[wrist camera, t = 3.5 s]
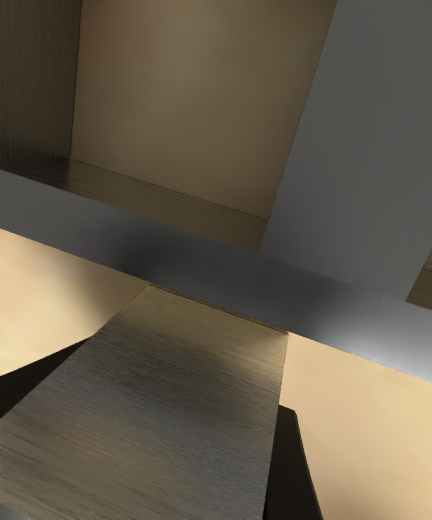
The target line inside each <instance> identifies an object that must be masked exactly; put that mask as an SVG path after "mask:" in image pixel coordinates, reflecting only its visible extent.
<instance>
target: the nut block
mask: <svg viewBox="0 0 432 520" xmlns="http://www.w3.org/2000/svg"><path fill="white" fill-rule="evenodd" d="M288 336H289V335H288V334H285V333H282V332H279V331H276V330H274V329H271V328H268V327H265V326H263V325H260V324H257V323H254V322H251V321H249V320H246V319H243V318H240V317H237V316H235V315H232V314H229V313H226V312H224V311H221V310H218V309H215V308H212V307H210V306H207V305H204V304H201V303H198V302H196V301H193V300H190V299H187V298H184V297H182V296H179V295H176V294H173V293H171V292H168V291H165V290H162V289H159V288H157V287H154V286H151V285H148V286H147V287H146V288H145V289H144V290H143V291H142V292H140V293H139V294H138V295H137V296H136V297H135V298H134V299H133V300H132V301H130V302H129V303H128V304H127V305H126V306H125V307H124V308H123V309H122V310H120V311H119V312H118V313H117V314H116V315H115V316H114V317H113V318H112V319H111V320H109V321H108V322H107V323H106V324H105V325H104V326H103V327H102V328H101V329H99V330H98V331H97V332H96V333H95V334H94V335H93V336H92V337H91V338H89V339H88V340H87V341H86V342H85V343H84V344H83V345H82V346H81V347H80V348H78V349H77V350H76V351H75V352H74V353H73V354H72V355H71V356H70V357H68V358H67V359H66V360H65V361H64V362H63V363H62V364H61V365H60V366H58V367H57V368H56V369H55V370H54V371H53V372H52V373H51V374H50V375H49V376H47V377H46V378H45V379H44V380H43V381H42V382H41V383H40V384H39V385H37V386H36V387H35V388H34V389H33V390H32V391H31V392H30V393H29V394H27V395H26V396H25V397H24V398H23V399H22V400H21V401H20V402H19V403H18V404H16V405H15V406H14V407H13V408H12V409H11V410H10V411H9V412H8V413H6V414H5V415H4V416H3V417H2V418H1V419H0V520H262V516H263V509H264V502H265V495H266V488H267V481H268V474H269V468H270V461H271V454H272V447H273V440H274V433H275V426H276V419H277V412H278V405H279V398H280V391H281V384H282V377H283V370H284V363H285V356H286V349H287V343H288Z"/></svg>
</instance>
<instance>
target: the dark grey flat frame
mask: <svg viewBox="0 0 432 520" xmlns="http://www.w3.org/2000/svg"><path fill="white" fill-rule="evenodd" d="M81 1H82V0H0V228H1V229H3V230H6V231H9V232H12V233H15V234H17V235H20V236H23V237H26V238H29V239H31V240H34V241H37V242H40V243H43V244H45V245H48V246H51V247H54V248H57V249H59V250H62V251H65V252H68V253H71V254H73V255H76V256H79V257H82V258H85V259H87V260H90V261H93V262H96V263H99V264H101V265H104V266H107V267H110V268H113V269H115V270H118V271H121V272H124V273H127V274H129V275H132V276H135V277H138V278H141V279H143V280H146V281H149V282H152V283H155V284H157V285H160V286H163V287H166V288H169V289H171V290H174V291H177V292H180V293H183V294H185V295H188V296H191V297H194V298H197V299H199V300H202V301H205V302H208V303H211V304H213V305H216V306H219V307H222V308H225V309H227V310H230V311H233V312H236V313H239V314H241V315H244V316H247V317H250V318H253V319H255V320H258V321H261V322H264V323H267V324H269V325H272V326H275V327H278V328H281V329H283V330H286V331H289V332H292V333H295V334H297V335H300V336H303V337H306V338H309V339H311V340H314V341H317V342H320V343H323V344H325V345H328V346H331V347H334V348H337V349H339V350H342V351H345V352H348V353H351V354H353V355H356V356H359V357H362V358H365V359H367V360H370V361H373V362H376V363H379V364H381V365H384V366H387V367H390V368H393V369H395V370H398V371H401V372H404V373H407V374H409V375H412V376H415V377H418V378H421V379H423V380H426V381H429V382H432V271H429V270H426V269H423V268H422V267H423V265H424V264H425V262H426V260H427V258H428V256H429V254H430V252H431V250H432V0H337V4H336V7H335V10H334V13H333V16H332V20H331V23H330V26H329V29H328V32H327V36H326V39H325V42H324V45H323V48H322V52H321V55H320V58H319V61H318V64H317V68H316V71H315V74H314V77H313V80H312V83H311V87H310V90H309V93H308V96H307V99H306V103H305V106H304V109H303V112H302V115H301V119H300V122H299V125H298V128H297V131H296V135H295V138H294V141H293V144H292V147H291V151H290V154H289V157H288V160H287V163H286V166H285V170H284V173H283V176H282V179H281V182H280V186H279V189H278V192H277V195H276V198H275V202H274V205H273V208H272V211H271V214H270V218H269V221H268V220H265V219H262V218H259V217H255V216H252V215H249V214H246V213H242V212H239V211H236V210H233V209H229V208H226V207H223V206H220V205H217V204H213V203H210V202H207V201H204V200H200V199H197V198H194V197H191V196H188V195H184V194H181V193H178V192H175V191H171V190H168V189H165V188H162V187H159V186H155V185H152V184H149V183H146V182H142V181H139V180H136V179H133V178H130V177H126V176H123V175H120V174H117V173H113V172H110V171H107V170H104V169H101V168H97V167H94V166H91V165H88V164H84V163H81V162H78V161H75V160H72V159H70V146H71V133H72V120H73V106H74V93H75V80H76V67H77V54H78V41H79V28H80V15H81Z"/></svg>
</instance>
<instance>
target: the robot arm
mask: <svg viewBox="0 0 432 520" xmlns="http://www.w3.org/2000/svg"><path fill="white" fill-rule="evenodd" d="M91 337H92V336H91ZM91 337H89V338H91ZM89 338H87V339H84V340H82V341H80V342H78V343H75V344H73V345H71V346H69V347H67V348H64V349H62V350H60V351H58V352H56V353H53V354H51V355H49V356H47V357H44V358H42V359H40V360H38V361H35V362H33V363H31V364H28V365H26V366H24V367H21V368H19V369H17V370H14V371H12V372H10V373H7V374H5V375H2V376H0V419H1V418H2V417H3V416H4V415H5V414H6V413H8V412H9V411H10V410H11V409H12V408H13V407H14V406H15V405H16V404H18V403H19V402H20V401H21V400H22V399H23V398H24V397H25V396H26V395H27V394H29V393H30V392H31V391H32V390H33V389H34V388H35V387H36V386H37V385H39V384H40V383H41V382H42V381H43V380H44V379H45V378H46V377H47V376H49V375H50V374H51V373H52V372H53V371H54V370H55V369H56V368H57V367H58V366H60V365H61V364H62V363H63V362H64V361H65V360H66V359H67V358H68V357H70V356H71V355H72V354H73V353H74V352H75V351H76V350H77V349H78V348H80V347H81V346H82V345H83V344H84V343H85V342H86V341H87V340H88V339H89ZM262 520H324V519H323V516H322V513H321V510H320V506H319V503H318V500H317V496H316V493H315V490H314V486H313V483H312V479H311V476H310V472H309V468H308V464H307V460H306V456H305V452H304V448H303V444H302V439H301V435H300V430H299V425H298V419H297V415H296V413H295V411H294V410H292V409H289V408H286V407H284V406H281V405H278V412H277V419H276V426H275V433H274V440H273V447H272V454H271V461H270V468H269V474H268V481H267V488H266V495H265V502H264V509H263V516H262Z"/></svg>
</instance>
